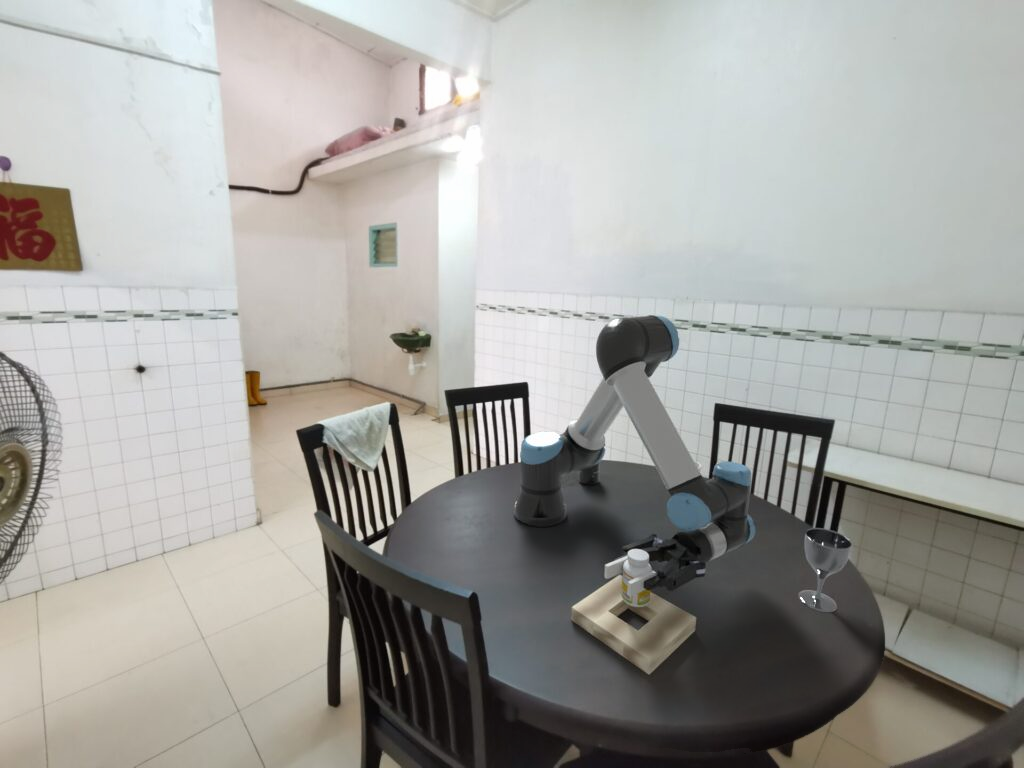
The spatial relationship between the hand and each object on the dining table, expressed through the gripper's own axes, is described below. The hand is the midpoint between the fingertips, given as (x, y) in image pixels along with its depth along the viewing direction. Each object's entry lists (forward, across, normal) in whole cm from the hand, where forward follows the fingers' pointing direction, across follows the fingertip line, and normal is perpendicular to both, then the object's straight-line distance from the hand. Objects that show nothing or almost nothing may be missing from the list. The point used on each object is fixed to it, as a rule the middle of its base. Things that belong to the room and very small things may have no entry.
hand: (617, 580), depth 89 cm
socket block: (-5, 0, -12) cm, 13 cm away
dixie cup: (-62, +34, -12) cm, 72 cm away
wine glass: (-44, -15, -13) cm, 49 cm away
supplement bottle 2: (-5, 0, -6) cm, 8 cm away
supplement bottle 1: (-42, +57, -12) cm, 72 cm away
